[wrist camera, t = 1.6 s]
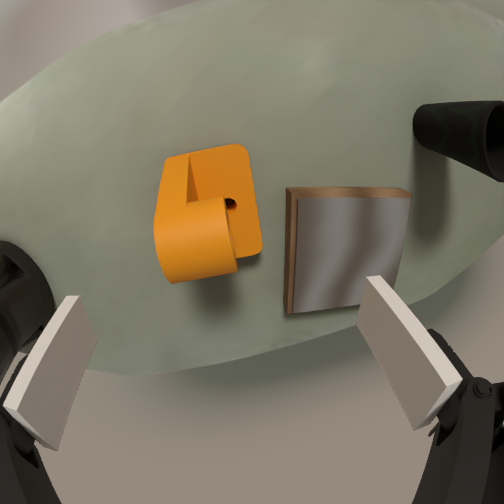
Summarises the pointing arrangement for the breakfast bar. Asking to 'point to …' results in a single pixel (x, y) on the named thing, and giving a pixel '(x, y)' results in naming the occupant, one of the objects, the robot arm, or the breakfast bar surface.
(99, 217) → the breakfast bar surface
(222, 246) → the bracket
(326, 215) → the plinth
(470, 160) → the cup
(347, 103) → the breakfast bar surface
